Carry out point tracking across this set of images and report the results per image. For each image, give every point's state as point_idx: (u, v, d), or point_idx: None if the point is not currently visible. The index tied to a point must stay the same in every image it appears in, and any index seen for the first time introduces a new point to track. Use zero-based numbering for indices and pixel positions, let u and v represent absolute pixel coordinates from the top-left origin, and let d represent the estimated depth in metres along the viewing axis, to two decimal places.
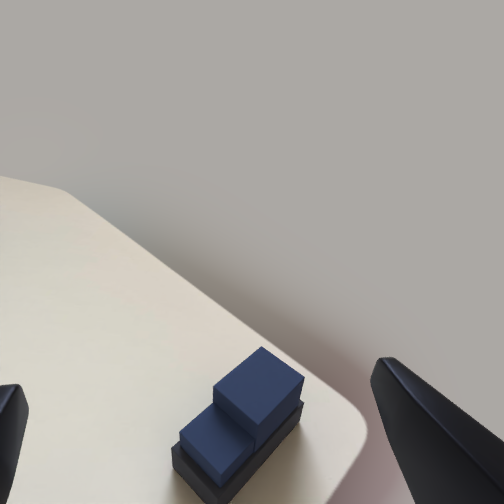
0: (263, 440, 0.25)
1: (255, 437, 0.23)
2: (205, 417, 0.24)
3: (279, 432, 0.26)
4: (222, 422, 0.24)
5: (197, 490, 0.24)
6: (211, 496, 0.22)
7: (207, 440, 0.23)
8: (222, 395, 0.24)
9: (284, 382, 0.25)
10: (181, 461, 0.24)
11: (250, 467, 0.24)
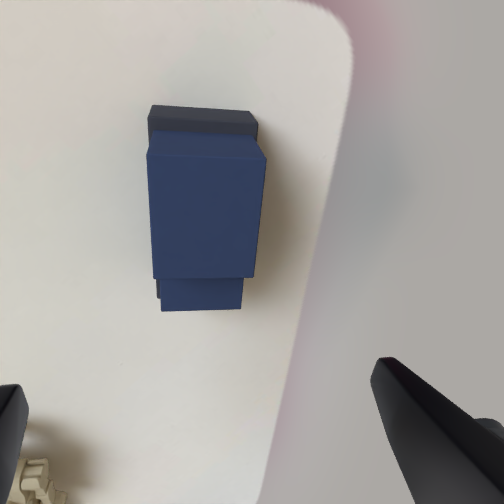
0: None
1: None
2: (170, 280, 0.17)
3: None
4: None
5: None
6: None
7: (198, 296, 0.17)
8: None
9: (242, 196, 0.13)
10: None
11: None
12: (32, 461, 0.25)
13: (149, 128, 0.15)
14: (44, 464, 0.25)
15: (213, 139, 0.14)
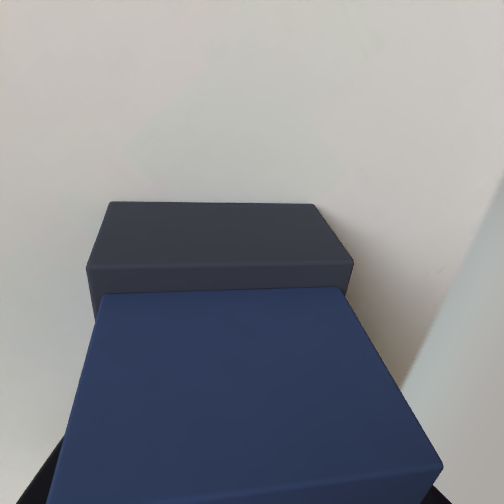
0: None
1: None
2: None
3: None
4: None
5: None
6: None
7: None
8: None
9: None
10: None
11: None
12: None
13: (92, 291, 0.06)
14: None
15: (256, 335, 0.05)
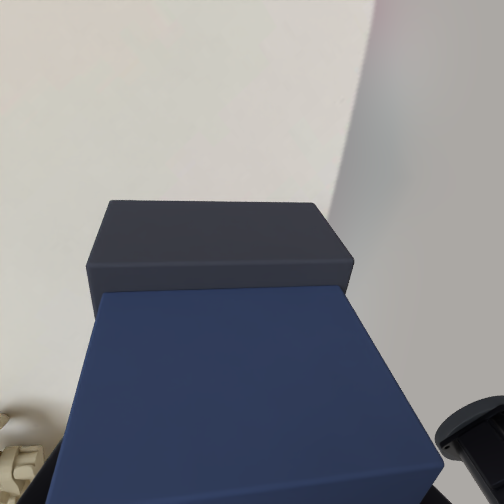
0: None
1: None
2: None
3: None
4: None
5: None
6: None
7: None
8: None
9: None
10: None
11: None
12: (25, 448, 0.23)
13: (92, 289, 0.06)
14: (38, 451, 0.23)
15: (257, 334, 0.05)
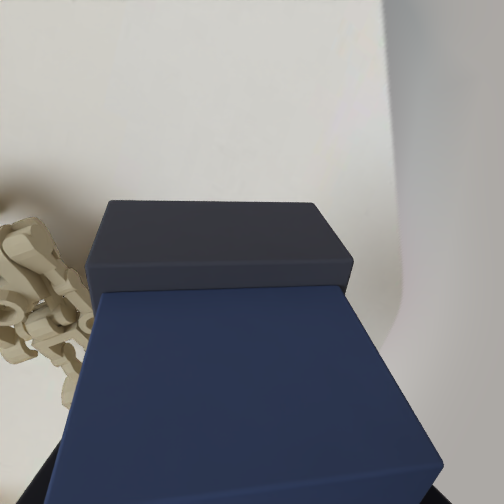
0: None
1: None
2: None
3: None
4: None
5: None
6: None
7: None
8: None
9: None
10: None
11: None
12: (16, 222, 0.15)
13: (91, 289, 0.06)
14: (37, 226, 0.16)
15: (256, 334, 0.05)
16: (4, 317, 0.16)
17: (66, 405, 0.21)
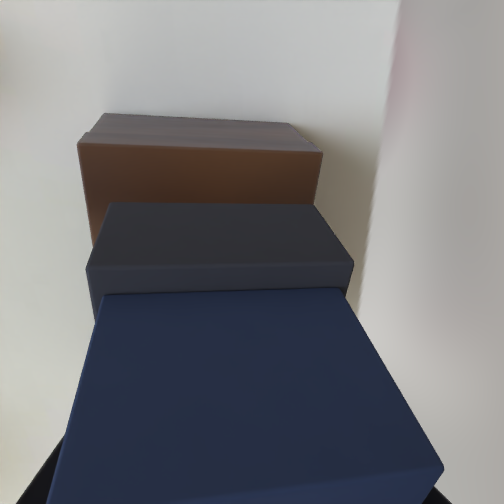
0: None
1: None
2: None
3: None
4: None
5: None
6: None
7: None
8: None
9: None
10: None
11: None
12: None
13: (92, 292, 0.06)
14: None
15: (257, 337, 0.05)
16: None
17: None
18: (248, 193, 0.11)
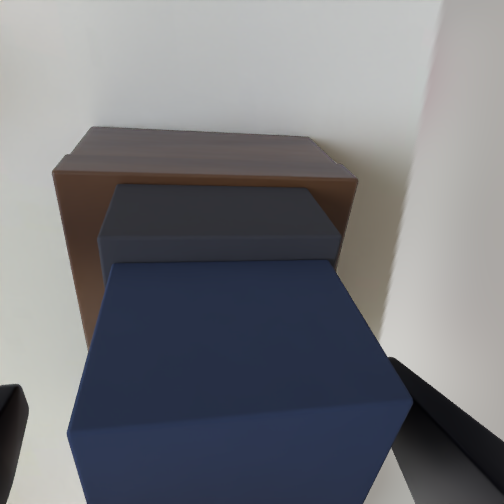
0: None
1: None
2: None
3: None
4: None
5: None
6: None
7: None
8: None
9: (335, 471, 0.05)
10: None
11: None
12: None
13: (102, 260, 0.06)
14: None
15: (252, 298, 0.06)
16: None
17: None
18: None
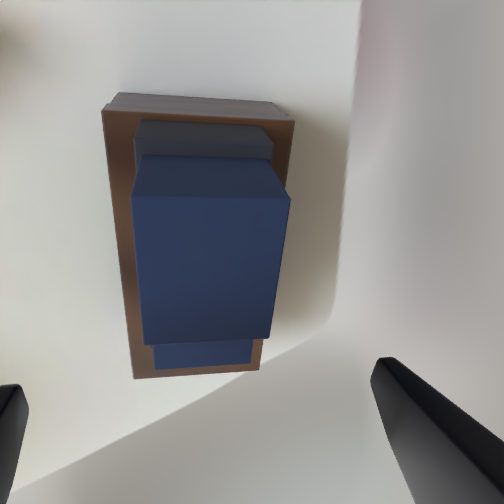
0: None
1: None
2: None
3: None
4: None
5: None
6: None
7: (199, 352, 0.14)
8: None
9: (257, 245, 0.10)
10: None
11: None
12: None
13: (136, 152, 0.11)
14: None
15: (218, 168, 0.11)
16: None
17: None
18: None
